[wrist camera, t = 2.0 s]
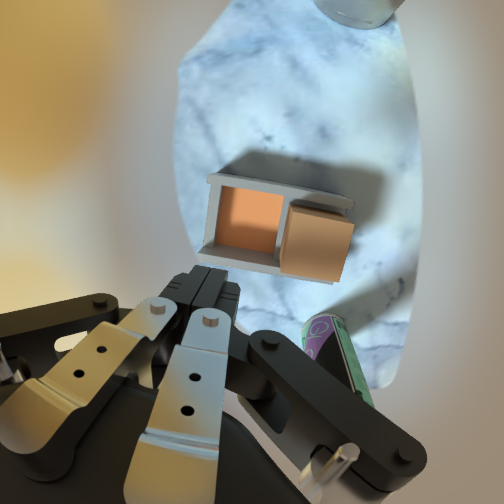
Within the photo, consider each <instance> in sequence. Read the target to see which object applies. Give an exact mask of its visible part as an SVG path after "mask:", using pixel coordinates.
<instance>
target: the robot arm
mask: <svg viewBox="0 0 504 504" xmlns="http://www.w3.org/2000/svg"><path fill="white" fill-rule="evenodd" d="M313 1H314V3H315V4H316V6H317V7H318V8H319V10H320V11H322V12H323V13H324V14H325V15H326V16H328V17H329V18H331V19H332V20H334V21H336V22H338V23H340V24H342V25H345V26H348V27H351V28H356V29H365V30H366V29H374V28H377V27H379V26H381V25H382V24H384V23H385V22H386V20H387V19H388V18H389V17H390V16H391V15H392V14H393V13H394V11H395V10H396V9H397V8H398V7H399V6H400V5H401V4H402V3H403V2H404V0H313ZM227 278H228V271H226V270H221V269H216V268H212V269H211V268H210V267H205V266H199V265H195V266H194V267H193V269H192V270H191V271H190V273H189V274H186V273H181V274H178V275H176V276H174V278H173V279H172V280H171V281H170V283H169V284H168V285H167V287H165V289H164V290H163V291H162V292H161V294H160V295H159V296H158V297H151V298H147V299H144V300H143V301H141V302H140V303H139V304H138V305H137V306H136V307H135V308H134V309H125V308H124V309H123V308H119V306H118V300H117V298H116V297H114V296H112V295H110V294H105V293H97V294H92V295H87V296H83V297H78V298H73V299H69V300H64V301H60V302H55V303H50V304H46V305H41V306H37V307H32V308H27V309H23V310H18V311H13V312H9V313H4V314H0V504H380V503H381V502H382V501H384V500H385V499H387V498H388V497H390V496H391V495H392V494H394V493H395V492H397V491H398V490H399V489H400V488H402V487H403V486H404V485H406V484H407V483H408V482H409V481H411V480H412V479H413V478H414V477H416V476H417V475H418V474H419V473H420V472H421V471H422V470H423V469H424V468H425V465H426V463H427V454H426V451H425V449H424V447H423V446H422V445H421V443H420V442H419V441H417V440H416V439H415V438H413V437H412V436H410V435H409V434H407V433H406V432H405V431H404V430H402V429H401V428H400V427H398V426H397V425H396V424H394V423H393V422H391V421H390V420H389V419H387V418H386V417H385V416H383V415H382V414H381V413H380V412H378V411H377V410H376V409H374V408H373V407H372V406H370V405H369V404H368V403H367V402H365V401H364V400H363V399H361V398H360V397H359V396H358V395H356V394H355V393H354V392H353V391H351V390H350V389H349V388H348V387H346V386H345V385H344V384H343V383H341V382H340V381H339V380H338V379H336V378H335V377H334V376H333V375H331V374H330V373H329V372H328V371H326V370H325V369H324V368H323V367H322V366H320V365H319V364H318V363H317V362H316V361H314V360H313V359H312V358H311V357H310V356H308V355H307V354H306V353H305V352H304V351H302V350H301V349H300V348H299V347H298V346H296V345H295V344H294V343H293V342H292V341H291V340H289V339H288V338H287V337H286V336H284V335H283V334H281V333H279V332H276V331H271V330H260V331H256V332H254V333H252V334H251V335H250V336H249V335H246V334H244V333H242V332H241V331H239V330H238V329H237V328H236V327H235V326H234V324H235V320H236V314H237V308H238V302H239V296H240V290H241V289H240V287H239V285H238V284H237V283H233V282H228V281H227ZM83 331H87V336H86V337H85V338H83V339H82V340H81V341H80V342H79V343H78V344H77V345H76V346H75V347H74V348H73V349H70V350H66V351H63V352H58V351H56V350H55V348H54V344H55V341H56V340H57V339H58V338H61V337H64V336H68V335H72V334H76V333H79V332H83ZM224 388H226V389H228V390H230V391H232V392H235V393H237V394H238V395H237V397H238V401H239V402H240V404H241V405H242V406H243V407H244V409H245V410H246V411H247V412H248V413H249V414H250V416H251V417H252V418H253V419H254V421H255V422H256V423H257V424H258V425H259V427H260V428H261V429H262V430H263V431H264V432H265V433H266V434H267V436H268V437H269V438H270V439H271V440H272V441H273V442H274V444H275V445H276V446H277V447H278V448H279V449H280V450H281V451H282V452H283V453H284V454H285V455H286V457H287V458H288V459H290V461H291V462H292V463H293V464H294V465H295V466H296V467H297V468H298V469H299V470H300V471H301V473H300V475H299V478H298V484H299V488H300V490H301V491H302V493H303V494H304V495H305V496H304V495H303V494H302V493H301V492H300V491H299V490H298V489H297V488H296V486H295V485H294V484H293V483H292V482H291V481H290V480H289V479H288V478H287V477H286V475H285V474H284V473H283V472H282V471H281V469H280V468H279V467H278V466H277V465H276V464H275V462H274V461H273V460H272V459H271V458H270V456H269V455H268V454H267V453H266V451H265V450H264V449H263V448H262V446H261V445H260V444H259V443H258V442H257V440H256V439H255V437H254V436H253V435H252V434H251V433H250V431H249V430H248V429H247V428H246V427H245V426H244V425H243V424H242V423H240V422H239V421H238V420H237V419H235V418H234V417H232V416H231V415H229V414H227V413H226V412H223V411H222V407H223V398H224Z"/></svg>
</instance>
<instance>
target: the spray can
mask: <svg viewBox="0 0 504 504" xmlns="http://www.w3.org/2000/svg"><path fill="white" fill-rule="evenodd" d="M302 344H303V351H304V352H305V353H306V354H307V355H308V356H310V357H311V358H312V359H313V360H314V361H316V362H317V363H318V364H319V365H320V366H322V367H323V368H324V369H325V370H326V371H328V372H329V373H330V374H331V375H333V376H334V377H335V378H336V379H338V380H339V381H340V382H341V383H343V384H344V385H345V386H346V387H348V388H349V389H350V390H351V391H353V392H354V393H355V394H356V395H358V396H359V397H360V398H361V399H363V400H364V401H365V402H367V403H368V404H369V405H370V406H372V407H373V408H374V409H375V407H374V404H373V401H372V398H371V395H370V392H369V389H368V386H367V383H366V380H365V377H364V375H363V372H362V369H361V366H360V363H359V361H358V358H357V355H356V352H355V350H354V347H353V344H352V342H351V339H350V337H349V334H348V331H347V329H346V326H345V324H344V322H343V320H342V319H341V318H340V317H339V316H337V315H335V314H332V313H321V314H318V315H315V316H313V317H311V318H310V319H309V320H308V321H307V322H306V323H305V324H304V326H303V328H302Z"/></svg>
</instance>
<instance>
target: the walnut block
mask: <svg viewBox="0 0 504 504" xmlns="http://www.w3.org/2000/svg"><path fill="white" fill-rule="evenodd" d="M354 225H355V224H353V223H352V222H351V221H350V220H348V219H347V218H346V217H345V216H343V215H342V214H341V213H338V212H333V211H328V210H324V209H319V208H314V207H309V206H304V205H299V204H294V203H289V207H288V212H287V217H286V222H285V227H284V232H283V237H282V242H281V247H280V252H279V256H280V272H281V273H286V274H292V275H298V276H303V277H309V278H315V279H321V280H327V281H333V282H339V281H340V277H341V274H342V270H343V267H344V263H345V260H346V256H347V253H348V249H349V245H350V241H351V237H352V233H353V229H354Z"/></svg>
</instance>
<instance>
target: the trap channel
mask: <svg viewBox="0 0 504 504" xmlns="http://www.w3.org/2000/svg"><path fill="white" fill-rule="evenodd" d="M207 183H209V184H211V188H210V195H209V203H208V210H207V218H206V226H205V235H204V243H203V247H202V249H201V250H200V251H199V252H198V259H197V261H200V262H205V263H211V264H216V265H221V266H227V267H232V268H238V269H243V270H249V271H254V272H260V273H266V274H271V275H277V276H283V277H289V278H295V279H300V280H306V281H312V282H318V283H324V284H330V285H333V281H327V280H321V279H315V278H309V277H303V276H298V275H292V274H286V273H281V272H280V256H279V252H280V247H281V242H282V237H283V232H284V227H285V222H286V217H287V212H288V207H289V203H294V204H299V205H304V206H309V207H314V208H319V209H324V210H328V211H333V212H338V213H341V214H342V215H343V216H345V212H346V209H350V210H352V209H353V205H354V201H352V200H350V199H348V198H346V197H344V196H341V195H337V194H333V193H328V192H324V191H319V190H314V189H309V188H305V187H300V186H295V185H289V184H284V183H279V182H273V181H268V180H262V179H256V178H250V177H244V176H237V175H231V174H224V173H211V174H208V176H207Z"/></svg>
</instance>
